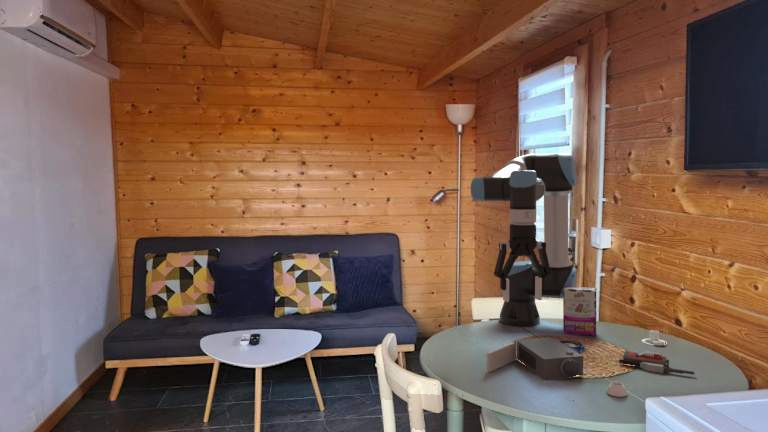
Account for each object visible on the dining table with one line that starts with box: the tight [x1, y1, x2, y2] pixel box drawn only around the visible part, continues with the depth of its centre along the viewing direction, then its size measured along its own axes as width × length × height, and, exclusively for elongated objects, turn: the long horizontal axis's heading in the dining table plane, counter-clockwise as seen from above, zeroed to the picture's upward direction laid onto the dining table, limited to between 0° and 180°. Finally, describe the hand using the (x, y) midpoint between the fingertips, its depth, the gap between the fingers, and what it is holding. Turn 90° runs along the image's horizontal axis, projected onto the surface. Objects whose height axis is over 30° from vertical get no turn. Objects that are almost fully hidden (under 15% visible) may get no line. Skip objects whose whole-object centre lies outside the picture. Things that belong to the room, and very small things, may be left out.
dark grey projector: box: [516, 337, 584, 381], centre depth 167 cm, size 20×12×7 cm, turn 11°
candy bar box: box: [562, 286, 597, 337], centre depth 203 cm, size 11×5×16 cm, turn 68°
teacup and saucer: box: [641, 329, 668, 347], centre depth 192 cm, size 9×8×4 cm
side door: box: [486, 340, 517, 373], centre depth 170 cm, size 15×1×6 cm, turn 136°
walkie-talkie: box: [618, 350, 695, 375], centre depth 167 cm, size 9×4×20 cm
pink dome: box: [606, 380, 628, 398], centre depth 148 cm, size 5×3×5 cm
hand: (522, 299), depth 166 cm, fingers open, 9 cm apart
